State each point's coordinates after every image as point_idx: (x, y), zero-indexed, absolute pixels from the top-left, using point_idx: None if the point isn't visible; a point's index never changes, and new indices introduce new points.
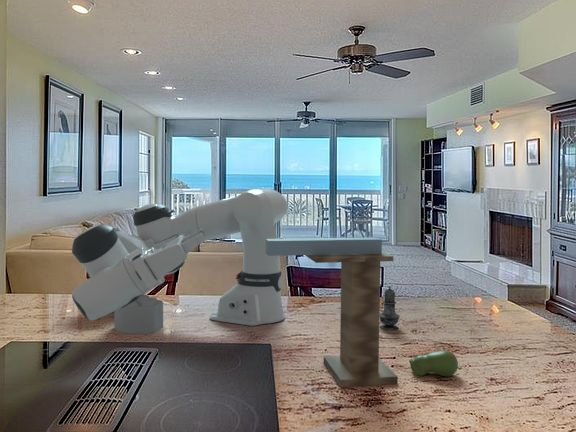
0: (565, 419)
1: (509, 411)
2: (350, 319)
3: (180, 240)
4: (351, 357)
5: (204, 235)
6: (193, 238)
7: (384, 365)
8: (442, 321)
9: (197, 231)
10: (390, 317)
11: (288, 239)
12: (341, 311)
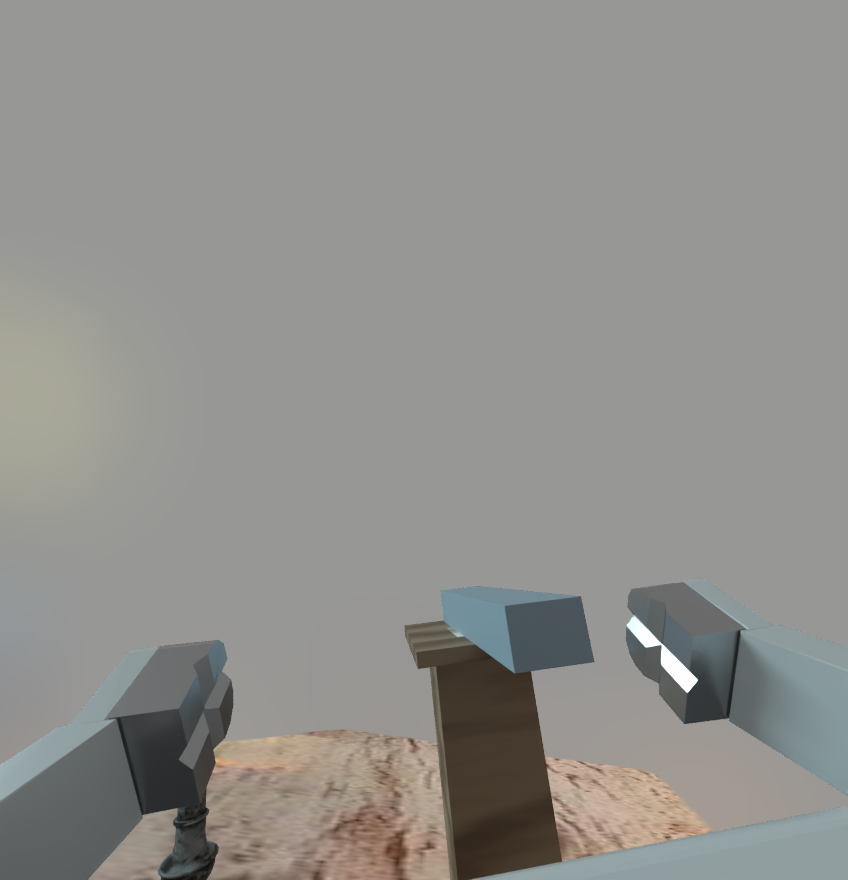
0: (631, 771)
1: (634, 803)
2: (545, 807)
3: (773, 820)
4: None
5: (228, 709)
6: (794, 637)
7: None
8: (212, 814)
9: (153, 682)
10: (210, 855)
11: (511, 597)
12: (460, 823)
